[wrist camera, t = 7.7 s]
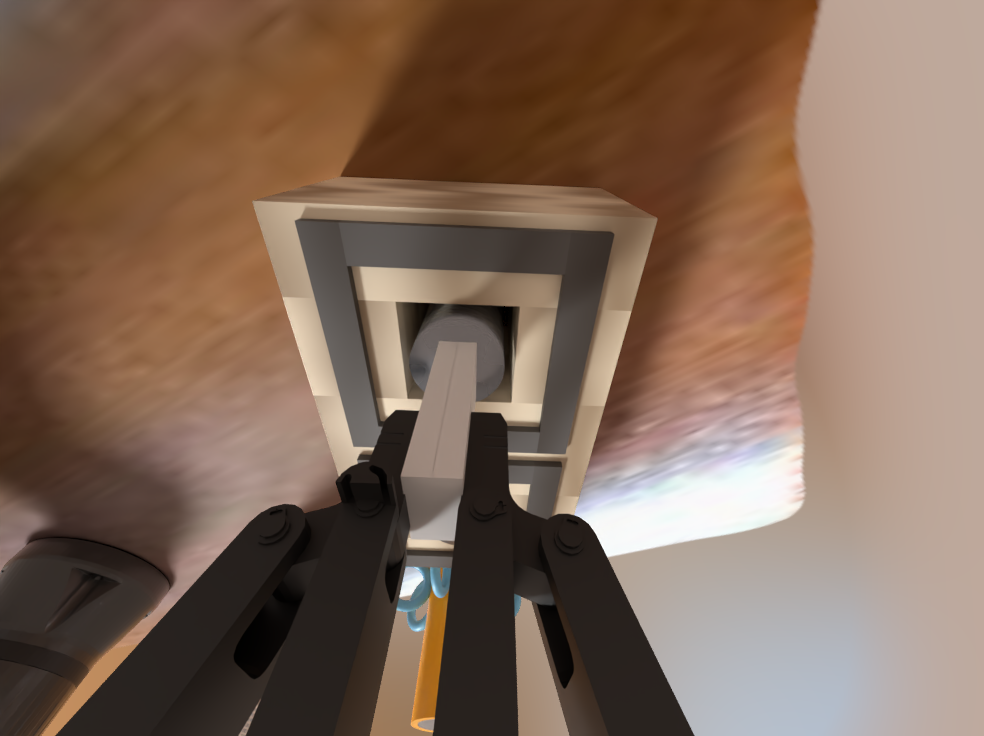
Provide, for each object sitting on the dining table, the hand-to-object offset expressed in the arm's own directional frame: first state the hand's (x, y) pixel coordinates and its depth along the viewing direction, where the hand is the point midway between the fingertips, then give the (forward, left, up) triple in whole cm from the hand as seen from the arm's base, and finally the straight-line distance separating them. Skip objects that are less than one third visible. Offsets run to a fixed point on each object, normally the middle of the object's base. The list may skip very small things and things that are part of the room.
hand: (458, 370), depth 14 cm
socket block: (0, -6, -9) cm, 11 cm away
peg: (0, 0, -8) cm, 8 cm away
